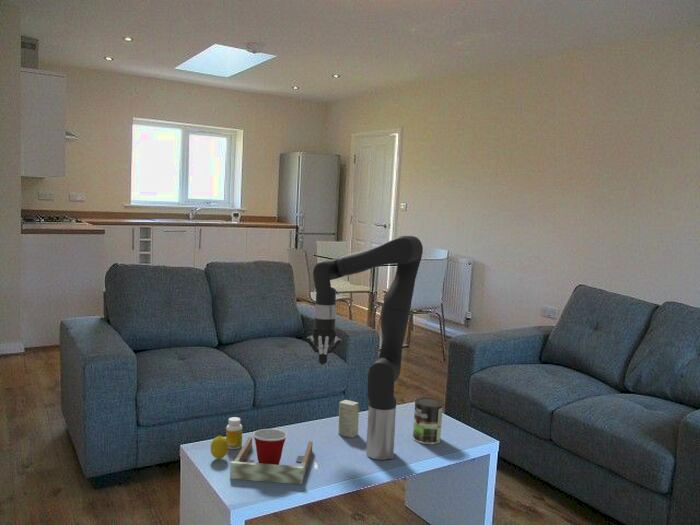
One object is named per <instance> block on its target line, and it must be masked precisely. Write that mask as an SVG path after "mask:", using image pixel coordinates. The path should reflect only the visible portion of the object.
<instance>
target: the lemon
mask: <svg viewBox="0 0 700 525" xmlns="http://www.w3.org/2000/svg"><path fill="white" fill-rule="evenodd" d="M228 450H229V449H228V443H227V440H226V437H224V436H222V435H218V436H216V437H214V438H213V439H212V441H211V443H210V453H211V455H212V457H213V458H215V459H217V460H219V461H220V460H221V459H222V458H224V457H225V456H226V455H227V453H228Z"/></svg>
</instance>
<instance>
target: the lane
mask: <svg viewBox="0 0 700 525" xmlns="http://www.w3.org/2000/svg"><path fill="white" fill-rule="evenodd" d="M313 445H314V444H313V441H310V440H309V441H308V443H307V446H306V449H305V452H304V455H303V456H304V458H303V461H302V463H300V464H301V465H287V464H279V465H275V464H262V463H258V462H253V463H249V462H243V461H244V460H245V459H246V460H247V456H248V455H249V453H250V451H251V449H252V447H253V437H252V436H248V437H247V440H246V441H245V442H244V445H242V446H241V449H240V450H239V453H238V454H237V456H236V457H235V459H234V461H233V460H232V461H230V467H229V470H230V471H229V479H230V480H231V479H232V480H242V481H253V482H255V481H256V482H257V481H258V482H269V483H279V484H280V483H281V484H292V483H293V484H295V485H303V482H304V479H305V475H306V472H307V470H306V469H308V467H309V463H310V460H311V456H312V454H313Z"/></svg>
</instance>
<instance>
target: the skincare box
mask: <svg viewBox="0 0 700 525" xmlns="http://www.w3.org/2000/svg"><path fill="white" fill-rule="evenodd" d="M359 405H360V404H359V402H357V401H353V400H349V399H344V400H340V401H339V402H338V435H341V436H342V437H343V436H344V437H348V438H352V439H353V438H355V437H356V436H358V435H359V414H360V413H359V412H360V411H359V409H360V406H359Z"/></svg>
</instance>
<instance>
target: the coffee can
mask: <svg viewBox="0 0 700 525" xmlns="http://www.w3.org/2000/svg"><path fill="white" fill-rule="evenodd" d="M443 408H444V402H443V401H442V400H440V399H438V398H434V397H426V396H425V397H418V398H416V399H415V400H414V417H413V430H412V439H413V440H414V441H415V442H416V443H419V444H423V445H437V444H439V443H440V442H441V435H442V434H441V432H442V421H443Z"/></svg>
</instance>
